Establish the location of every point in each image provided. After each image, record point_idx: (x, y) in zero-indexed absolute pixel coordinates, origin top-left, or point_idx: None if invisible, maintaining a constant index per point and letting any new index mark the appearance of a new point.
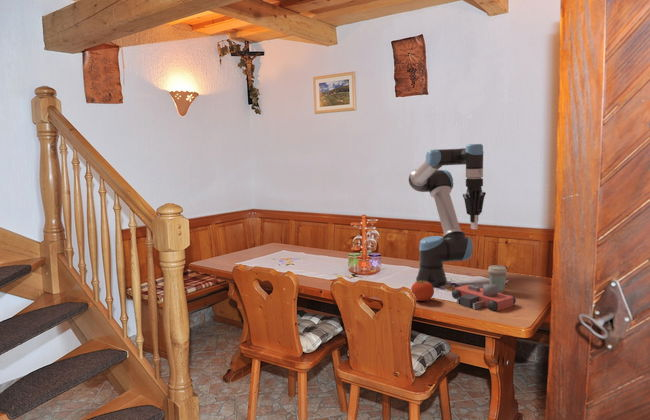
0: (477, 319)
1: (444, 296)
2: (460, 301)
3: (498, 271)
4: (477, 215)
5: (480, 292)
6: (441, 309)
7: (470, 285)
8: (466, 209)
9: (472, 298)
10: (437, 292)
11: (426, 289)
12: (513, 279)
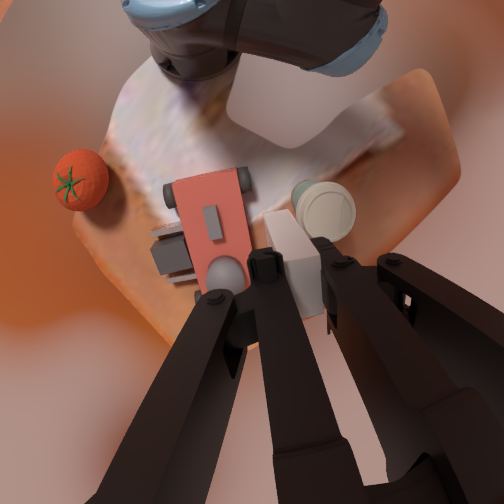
0: (147, 318)
1: (155, 166)
2: (153, 245)
3: (310, 237)
4: (319, 312)
5: (215, 246)
6: (105, 246)
7: (209, 211)
8: (180, 341)
9: (169, 272)
10: (157, 126)
11: (74, 210)
12: (414, 138)
